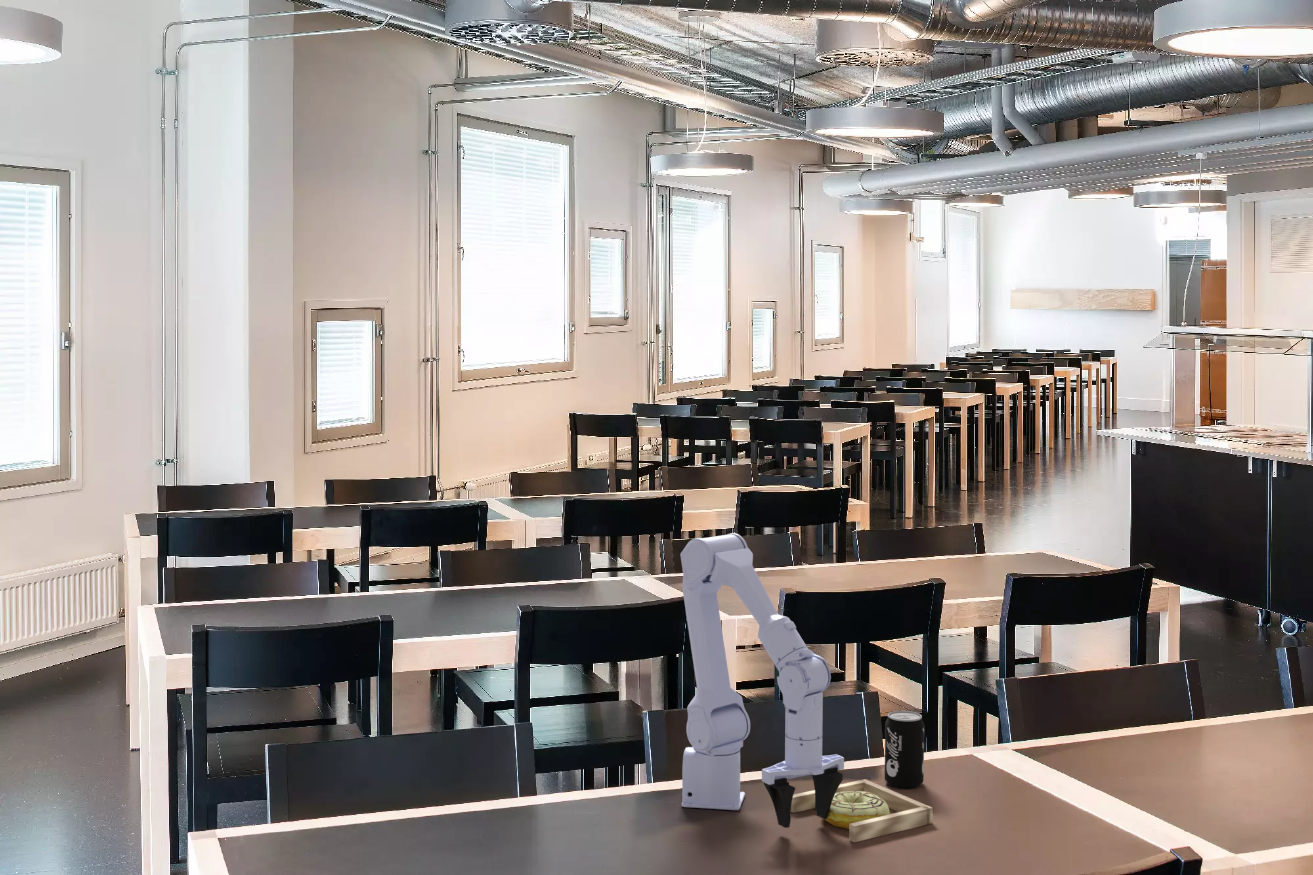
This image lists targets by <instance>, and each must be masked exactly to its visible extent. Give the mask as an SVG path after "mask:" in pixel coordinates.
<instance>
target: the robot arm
mask: <svg viewBox="0 0 1313 875" xmlns="http://www.w3.org/2000/svg"><path fill="white" fill-rule="evenodd" d="M753 558H754V553H753V552H752V551H751V550H750V548H749V547H748V544H747V541H746V540H745V539H744V538H743V537H742V536H741V535H740V534H739V533H734V532H731V533H727V534H724V535H723V534H722V535H717V536H710V537H703V538H702V537H701V538H699V537H697V538H692V539H691V540H689V541H688V542H687V544H686V545H685V546H684V548H683V549H682V551H681V552H680V561H681V567H682V584H681V585H682V588H681V589H682V595H683V601H684V607H685V616H686V621H687V630H688V636H689V642H690V650H691V655H692V656H691V658H692V662H693V670H694V677H695V682H696V690H697V692H696V694H695V695H694V696H693V698H692V699H691V700H690V702H689V704H688V705H687V707H686V710H687V722H686V731H685V732H686V735H687V740H688V741H689V744H690V745H691V746H687V747H685V749H684V751H683V756H682V771H681V772H682V774H681V776H682V782H681V784H682V786H681V787H682V789H681V790H682V794H681V797H682V800H681V801H682V802H681V807H684V808H693V809H694V808H698V809H711V810H713V809H715V810H724V811H725V810H727V811H729V810H730V811H739V810H740V809H741V807H742V804H743V801H744V799H745V795H746V793H745V792H744V791H741V748H743V747H744V740H746V739H747V738H748V736H749V735H750V731H751V720H750V716H749V714H748V712H747V711H746V709H745V706H744V702H743V700H744V699H743V697H742V695H740V694H739V693H738V692H737V691H736V690H735V689H733V688H732V687H731V683H730V682H731V680H730V675H729V669H728V668H729V667H728V663H727V655H726V649H725V642H724V641H725V640H724V636H723V629H722V621H721V615H720V607H719V600H718V592H719V590H720V589H721V588H722V586H727V587H731V589H732V590H733V591H734V592H735V593H736V595H737V596H738V598H739V599H740V600H741V601H742V604H743V605H744V606H745V607H746V609H747V610H748V611H749V613H750V614H751V615H752V617H753V618H754V620H755V621H756V623H757V624H758V626H759V628H758V632H757V638H758V639H759V641H760V643H761V644H762V645H763V646H762V647H764V650H765V651H766V653H767V654H768V656H769V658H770V659H771V661H772V663H773V664H774V665H775V668H776V669H777V671H778V672H779V675H778V676H777V677H776V680H777V686H778V687H779V690H780V692H781V694H782V704H783V705H784V708H785V709H784V710H785V715H784V716H785V720H784V721H785V730H784V732H785V734H784V735H785V736H784V738H785V739H784V740H785V741H784V746H785V747H784V760H783V761H781V762H778V763H776V764H774V765H771V766H769V767H765V768H762V769H761V782H762V783H763V785H764V787H765V788H766V791H767V793H768V795H769V797H770V799H771V801H772V803H773V804H772V805H773V807H774V810H775V816H776V819H777V824H778V825H779V826H780V827H783V828H785V829H787V828H790V826H791V822H792V821H791V818H792V814H791V813H792V812H791V804H792V798H793V795H794V793H795V791H796V789H797V788H796V787H795V786H793V785H790V782H789V781H788V780H790V779H794V778H801V777H804V776H805V777H806V776H810V775H811V776H812V781H813V786H814V790H815V808H814V810H815V814H816V816H817V817H818V818H820V819H822V820H825V819H827V818H828V814H829V810H830V807H831V803H832V800H833V797H834V795H835V792H836V790H837V788H838V787H839V785H840V784H842V782H843V779H844V775H843V773H841V772H839V771H842V770H844V769H845V757H843V756H841V755H839V754H837V753H836V754H830V755H823V719H824V716H823V714H824V713H823V708H824V707H823V706H824V704H823V702H824V701H823V699H824V697H823V695H824V694H823V692H824V691H826V690H827V689H828V687H829V686H830V684H831V679H832V676H831V674H832V673H831V671H830V670H831V669H830V667H829V665H828V663H827V661H826V659H825V658H823V657H822V656H820V655H818V654H816V653H815V652H814V651H813V650H811V649H809V648H808V646H807V645H806V643H805V642H804V640H803V639H802V637H801V635H800V633H799V632H798V630H797V626H796V624H795V623H794V621H792V620H791V619H790V617H788V616H785V615H781V614H779V613H778V612H777V610H776V608H775V606H774V604H773V602H772V600H771V598H770V597H769V594H768V592H767V590H766V588H765V586H764V585H763V583H762V581H761V580H760V578H759V576H758V573H757V572H756V570H755V568H754V565H753V560H754V559H753Z"/></svg>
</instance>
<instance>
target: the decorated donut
mask: <svg viewBox="0 0 1313 875" xmlns="http://www.w3.org/2000/svg"><path fill="white" fill-rule="evenodd" d="M889 814H891V813H890V808H889V807H888V805H887V803H886V802H885V801H884V800H883V799H881V798H880V797H878V796H877V795H874V794H872V793H869V792H865V791H842V792H837V793H835V795H834V797H833V800H832V803H831V807H830V810H829V814H828V818H827V819H824V820H825V822H827V823H829V824H830V825H833V826H835V827H837V828H841V829H845V830H846V829H848V830H849V824H851V823H855V822H860V821H864V820H868V819H872V818H877V817H881V816H885V815H889Z"/></svg>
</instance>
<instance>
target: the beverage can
mask: <svg viewBox="0 0 1313 875" xmlns="http://www.w3.org/2000/svg"><path fill="white" fill-rule="evenodd" d="M922 718H923V716H922V714H920V713H919V712H916V711H911V710H910V711H909V710H893V711H890V712H889V713H887V719H886V721H885V722H884V723H885V724H884V727H885V728H884V780H885V782H886V783H887V784H888V786H890V787H893V788H895V789H900V790H912V789H917V788H919V787H920V786H921V785H922V784H923V783H924V775H925V774H924V773H925V772H924V771H925V770H924V768H925V766H924V764H925V763H924V762H925V761H924V759H925V723H924V721H923V720H922Z"/></svg>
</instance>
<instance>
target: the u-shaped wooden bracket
mask: <svg viewBox="0 0 1313 875" xmlns="http://www.w3.org/2000/svg"><path fill="white" fill-rule="evenodd" d="M842 791H865V792H869V793H872V794H874V795H877V796H878V797H880V798H881V799H883V800H884V801H885V802H886V803H887V805H888V807H889V810H890V809H891V810H892V811H895V813H889V815H885V816H881V817H877V818H872V819H868V820H864V821H860V822H855V823H851V824H849V829H848V830H849V831H848V832H849V833H848V838H849V839H848V840H849V841H850V842H853V843H857V842H861V841H866V840H870V839H873V838H878V837H881V836H886V835H890V834H891V835H892V834H895V833H898V832H902V831H906V830H910V829H915V828H918V827H923V826H926V825H931V824H933V813H934V812H933V809H934V808H933V807H932V806H930V805H927V804H925V803H922V802H920V801H918V800H915V799H913V798H910V797H909V796H905V795H904V794H901V793H899V792H897V791H895V790H891V789H890V788H887V787H884V786H882V785H880V784H877V783H875V782H873V781H871V780H868V779H866V778H865V779H859V780H855V781H851V782H845V783H840V785H839V787H838V788H837V790H836V792H835V793H837V792H842ZM812 809H815V789H814V790H813V789H812V790H809V791H804V792H799V793H795V794H793V798H792V804H791V813H799V812H804V811H808V810H812Z"/></svg>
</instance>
